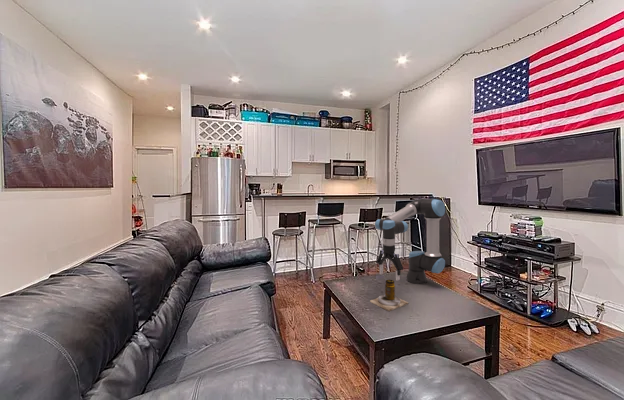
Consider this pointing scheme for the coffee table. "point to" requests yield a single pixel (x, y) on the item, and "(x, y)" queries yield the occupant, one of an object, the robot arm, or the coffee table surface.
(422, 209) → the robot arm
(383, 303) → the board
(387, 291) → the condiment
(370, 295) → the coffee table surface
